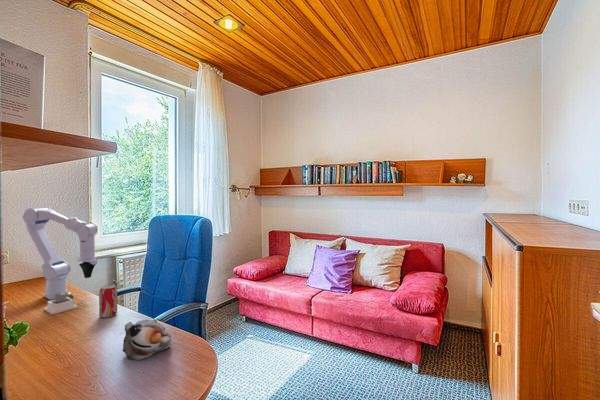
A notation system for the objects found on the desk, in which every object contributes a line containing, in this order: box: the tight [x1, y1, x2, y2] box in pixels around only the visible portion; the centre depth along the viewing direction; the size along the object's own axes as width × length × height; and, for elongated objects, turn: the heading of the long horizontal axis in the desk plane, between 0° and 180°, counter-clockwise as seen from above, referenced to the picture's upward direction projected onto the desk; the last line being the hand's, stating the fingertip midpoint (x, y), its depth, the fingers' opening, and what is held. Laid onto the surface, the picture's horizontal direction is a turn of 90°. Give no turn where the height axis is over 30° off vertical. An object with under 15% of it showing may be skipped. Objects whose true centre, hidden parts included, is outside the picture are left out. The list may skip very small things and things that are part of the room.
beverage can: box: [98, 284, 118, 319], centre depth 124 cm, size 6×6×12 cm
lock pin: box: [66, 291, 73, 297], centre depth 138 cm, size 3×3×4 cm
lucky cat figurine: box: [122, 319, 172, 361], centre depth 95 cm, size 15×12×14 cm
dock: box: [43, 294, 79, 315], centre depth 133 cm, size 12×11×3 cm
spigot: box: [54, 293, 66, 304], centre depth 131 cm, size 4×4×6 cm
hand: (87, 277), depth 146 cm, fingers closed
